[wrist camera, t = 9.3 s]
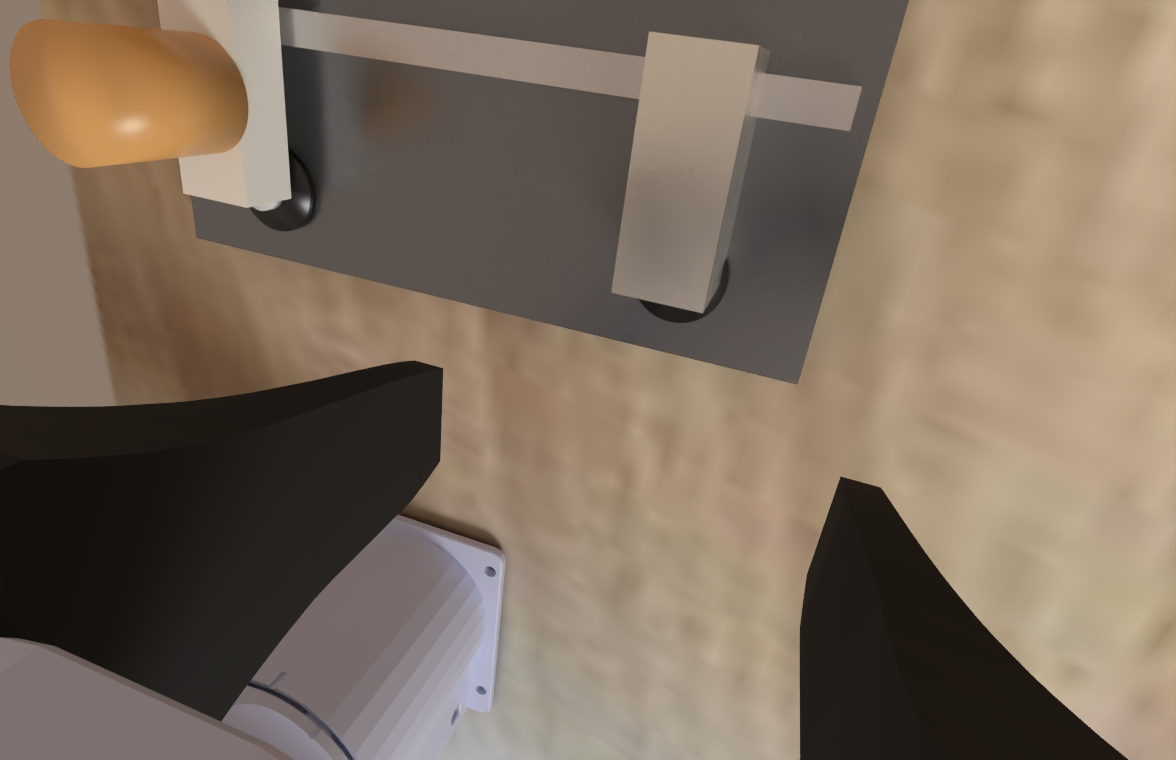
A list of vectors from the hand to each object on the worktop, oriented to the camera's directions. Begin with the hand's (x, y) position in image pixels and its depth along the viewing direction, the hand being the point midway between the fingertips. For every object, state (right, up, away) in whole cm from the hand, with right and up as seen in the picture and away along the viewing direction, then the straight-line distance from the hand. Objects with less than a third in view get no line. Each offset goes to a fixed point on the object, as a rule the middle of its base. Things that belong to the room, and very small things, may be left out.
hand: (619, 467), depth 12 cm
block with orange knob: (-11, +10, +9) cm, 18 cm away
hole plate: (-4, +9, +9) cm, 14 cm away
